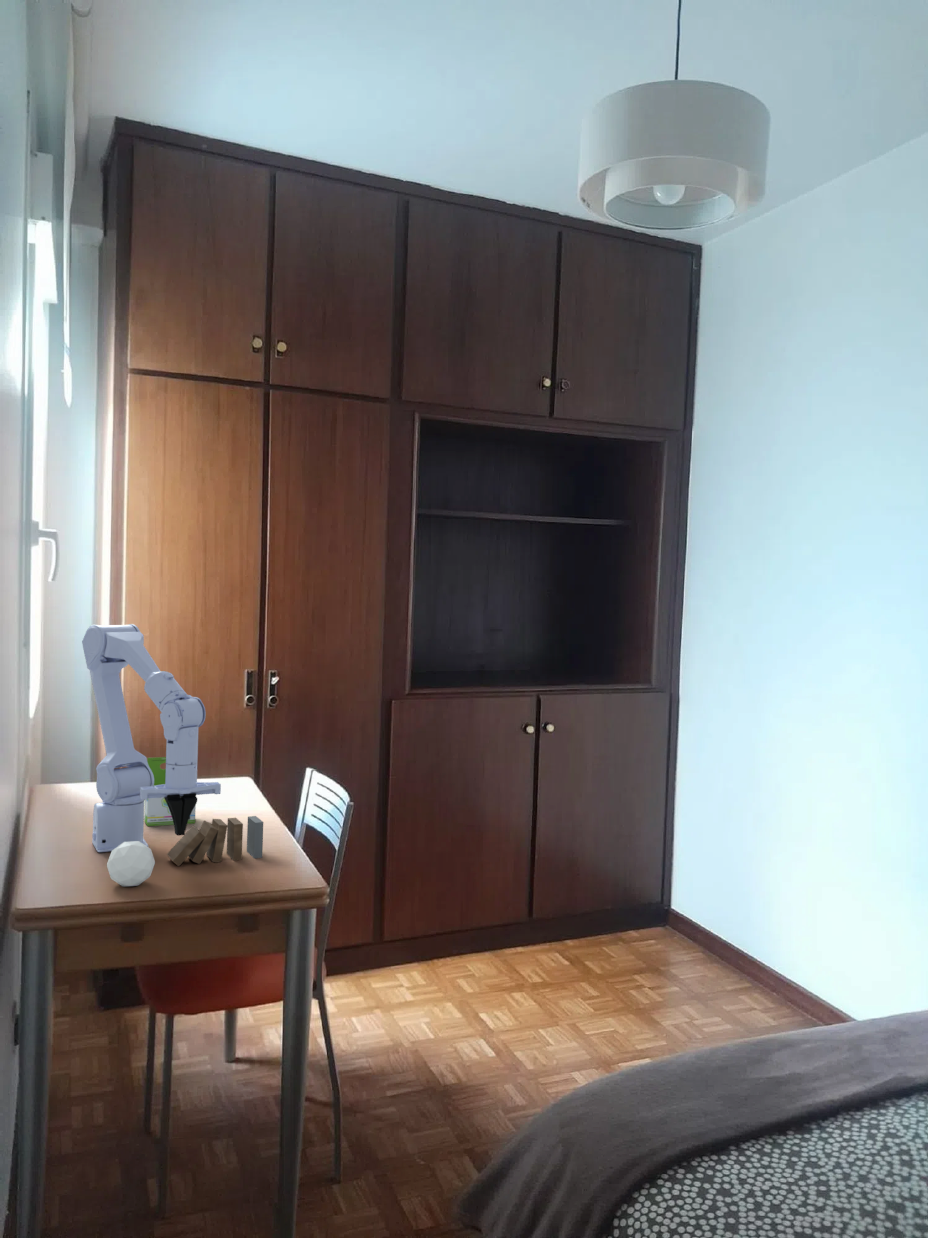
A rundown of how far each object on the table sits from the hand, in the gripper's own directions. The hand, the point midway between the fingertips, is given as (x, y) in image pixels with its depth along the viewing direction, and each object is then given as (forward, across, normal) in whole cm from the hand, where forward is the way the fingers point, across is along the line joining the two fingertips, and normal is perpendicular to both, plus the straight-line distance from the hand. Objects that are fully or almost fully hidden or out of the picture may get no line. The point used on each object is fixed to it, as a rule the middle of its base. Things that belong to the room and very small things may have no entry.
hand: (179, 834), depth 181 cm
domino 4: (+6, +10, 0) cm, 12 cm away
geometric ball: (+6, -10, -10) cm, 16 cm away
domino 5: (+6, +14, 0) cm, 16 cm away
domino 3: (+5, +6, 0) cm, 8 cm away
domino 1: (+5, -1, 0) cm, 5 cm away
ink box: (+6, +4, +30) cm, 31 cm away
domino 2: (+5, +3, 0) cm, 6 cm away
